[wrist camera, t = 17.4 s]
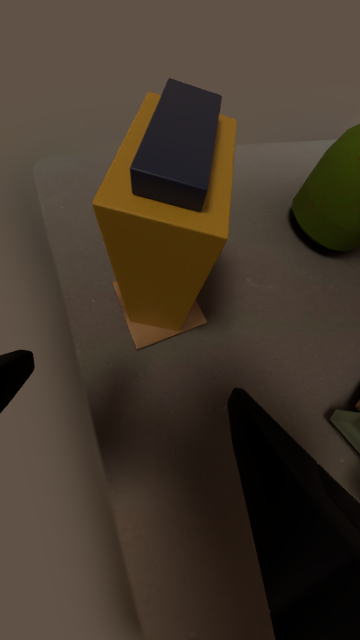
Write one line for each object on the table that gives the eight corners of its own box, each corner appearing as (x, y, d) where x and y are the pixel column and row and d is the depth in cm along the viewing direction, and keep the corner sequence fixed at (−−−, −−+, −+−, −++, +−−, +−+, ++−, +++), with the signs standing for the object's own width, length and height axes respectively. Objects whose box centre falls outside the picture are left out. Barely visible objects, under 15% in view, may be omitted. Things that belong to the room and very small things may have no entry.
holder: (178, 331, 16) (240, 217, 5) (129, 321, 16) (81, 173, 5) (190, 262, 19) (245, 94, 8) (149, 252, 19) (148, 61, 8)
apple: (266, 219, 24) (350, 99, 14) (305, 192, 28) (393, 83, 18) (331, 275, 22) (480, 184, 12) (363, 239, 26) (498, 147, 16)
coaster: (206, 323, 17) (207, 322, 17) (137, 350, 15) (136, 349, 15) (178, 266, 19) (178, 264, 19) (113, 284, 17) (112, 281, 17)
